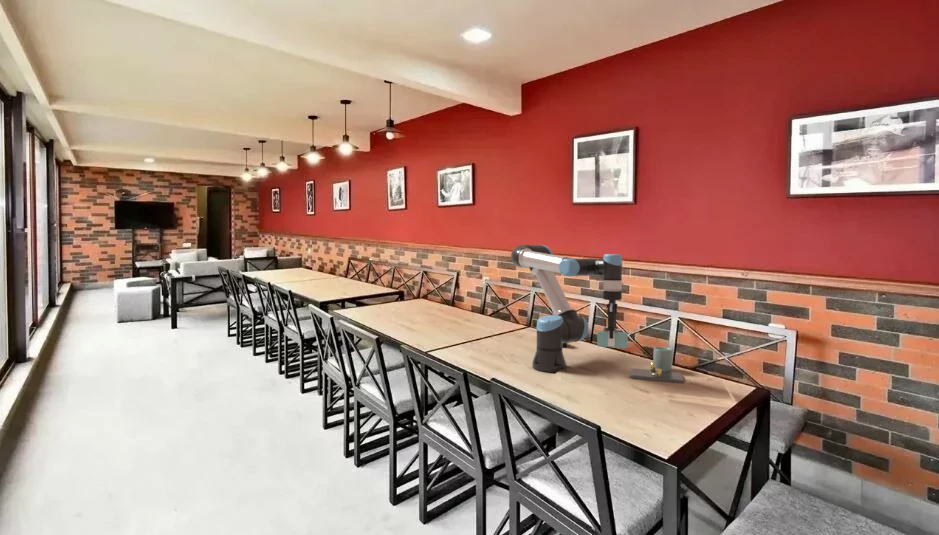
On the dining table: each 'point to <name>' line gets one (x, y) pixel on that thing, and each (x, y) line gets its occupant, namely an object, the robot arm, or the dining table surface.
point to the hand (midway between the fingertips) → (611, 344)
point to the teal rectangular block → (620, 339)
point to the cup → (663, 358)
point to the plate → (656, 374)
